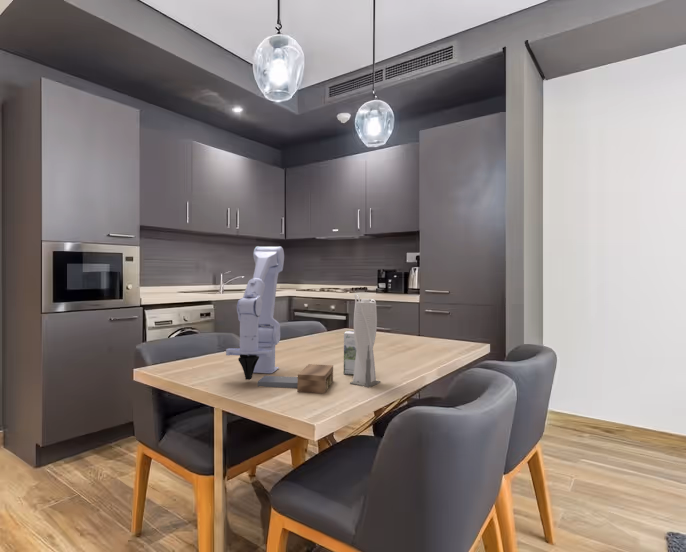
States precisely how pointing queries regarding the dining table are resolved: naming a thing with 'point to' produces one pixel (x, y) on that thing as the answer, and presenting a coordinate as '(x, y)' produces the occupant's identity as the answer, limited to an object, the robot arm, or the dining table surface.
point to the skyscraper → (365, 342)
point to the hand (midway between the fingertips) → (248, 378)
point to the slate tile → (278, 381)
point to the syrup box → (349, 352)
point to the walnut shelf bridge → (315, 378)
